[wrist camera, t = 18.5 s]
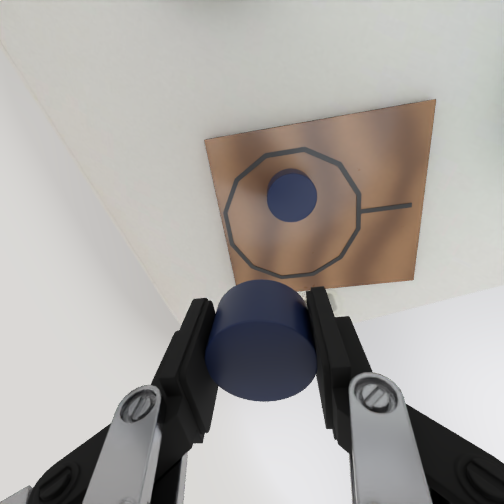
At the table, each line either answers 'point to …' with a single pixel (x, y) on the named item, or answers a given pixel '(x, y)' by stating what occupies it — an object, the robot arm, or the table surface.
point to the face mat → (328, 197)
